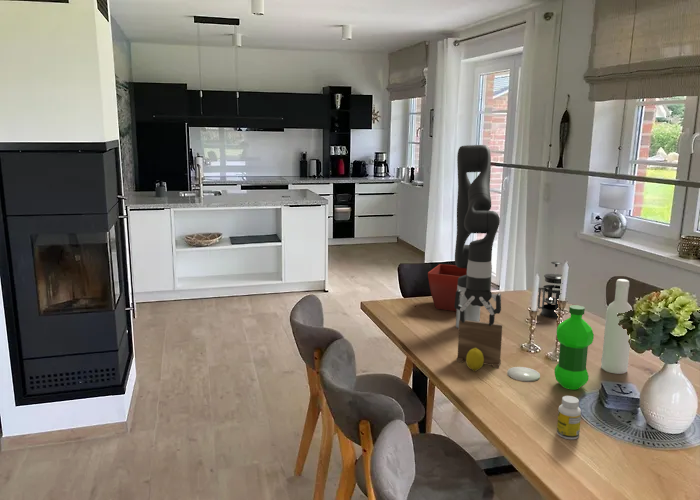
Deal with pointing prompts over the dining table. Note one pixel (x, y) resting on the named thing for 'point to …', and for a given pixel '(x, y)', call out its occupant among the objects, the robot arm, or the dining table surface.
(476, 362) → the lemon
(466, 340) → the walnut screen
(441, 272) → the plant pot
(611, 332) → the bottle
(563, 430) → the supplement bottle
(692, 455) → the dining table surface
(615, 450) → the dining table surface
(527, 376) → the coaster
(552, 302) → the french press
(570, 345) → the plastic bottle
